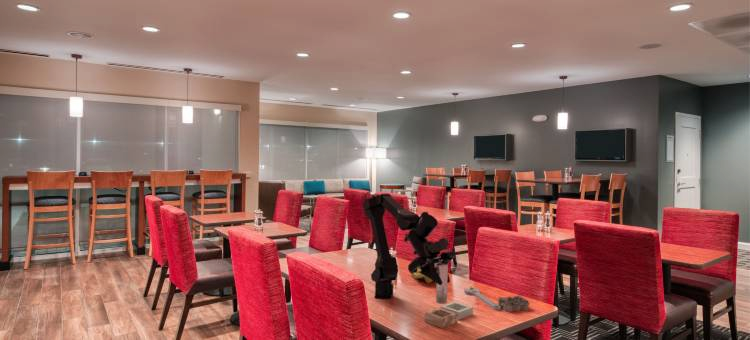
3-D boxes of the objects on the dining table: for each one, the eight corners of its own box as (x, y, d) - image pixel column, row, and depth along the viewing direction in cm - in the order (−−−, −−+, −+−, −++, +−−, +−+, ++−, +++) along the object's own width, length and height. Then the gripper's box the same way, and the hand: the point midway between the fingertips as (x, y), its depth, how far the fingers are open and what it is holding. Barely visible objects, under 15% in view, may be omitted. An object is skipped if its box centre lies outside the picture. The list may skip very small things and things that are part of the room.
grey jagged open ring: (505, 313, 164) (505, 301, 163) (494, 306, 171) (495, 295, 171) (531, 310, 166) (532, 299, 166) (520, 304, 174) (520, 293, 173)
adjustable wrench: (502, 311, 165) (502, 307, 165) (485, 312, 164) (485, 307, 164) (476, 290, 190) (476, 286, 190) (461, 291, 189) (461, 286, 189)
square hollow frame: (458, 319, 155) (458, 312, 155) (440, 313, 161) (440, 306, 161) (472, 314, 161) (473, 307, 161) (454, 308, 167) (454, 301, 166)
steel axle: (435, 303, 151) (437, 265, 150) (436, 299, 155) (436, 263, 154) (447, 304, 150) (448, 266, 150) (446, 300, 154) (447, 263, 154)
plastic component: (408, 268, 215) (427, 258, 216) (415, 282, 215) (434, 272, 216) (417, 276, 195) (437, 265, 196) (424, 292, 195) (445, 281, 196)
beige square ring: (442, 328, 147) (442, 319, 147) (424, 321, 153) (424, 312, 153) (457, 322, 153) (457, 313, 153) (440, 316, 158) (440, 307, 158)
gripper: (415, 233, 148) (441, 274, 140) (451, 227, 161) (476, 265, 153) (397, 253, 154) (421, 293, 147) (433, 246, 167) (457, 283, 159)
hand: (445, 283), depth 151 cm, fingers closed on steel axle, 4 cm apart
